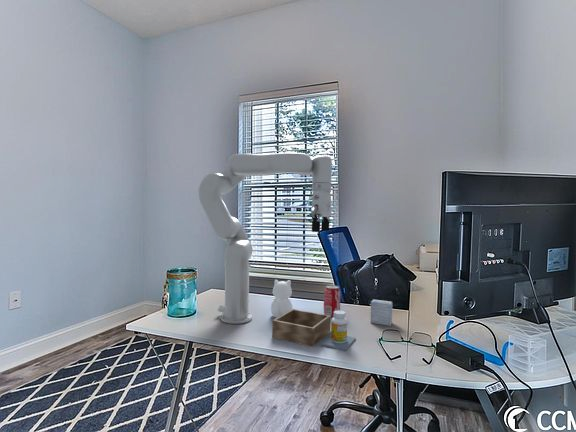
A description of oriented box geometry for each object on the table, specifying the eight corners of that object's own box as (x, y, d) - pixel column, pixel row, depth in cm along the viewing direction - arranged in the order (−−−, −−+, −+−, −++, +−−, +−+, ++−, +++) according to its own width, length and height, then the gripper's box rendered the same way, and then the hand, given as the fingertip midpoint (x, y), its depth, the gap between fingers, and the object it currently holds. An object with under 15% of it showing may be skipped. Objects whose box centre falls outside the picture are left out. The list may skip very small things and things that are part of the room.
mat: (322, 345, 111) (322, 343, 111) (333, 334, 121) (333, 333, 121) (345, 350, 107) (345, 349, 107) (355, 339, 117) (355, 337, 117)
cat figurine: (293, 313, 146) (294, 278, 146) (290, 322, 133) (291, 284, 133) (272, 312, 147) (273, 277, 147) (267, 321, 134) (268, 283, 134)
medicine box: (392, 323, 135) (392, 301, 135) (390, 326, 131) (391, 304, 131) (372, 319, 138) (372, 299, 138) (370, 323, 134) (370, 301, 134)
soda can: (339, 312, 148) (340, 285, 147) (340, 317, 141) (341, 288, 140) (323, 311, 148) (323, 284, 148) (323, 316, 141) (324, 288, 141)
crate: (272, 337, 117) (272, 320, 117) (292, 324, 131) (292, 308, 131) (313, 346, 110) (313, 328, 110) (330, 331, 124) (330, 315, 124)
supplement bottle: (329, 337, 117) (330, 309, 116) (344, 337, 117) (345, 309, 117) (332, 343, 111) (333, 314, 111) (348, 343, 112) (349, 314, 112)
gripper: (322, 186, 124) (321, 232, 124) (338, 189, 139) (337, 230, 139) (303, 186, 127) (302, 231, 128) (321, 189, 143) (320, 229, 143)
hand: (320, 231), depth 134 cm, fingers open, 9 cm apart
